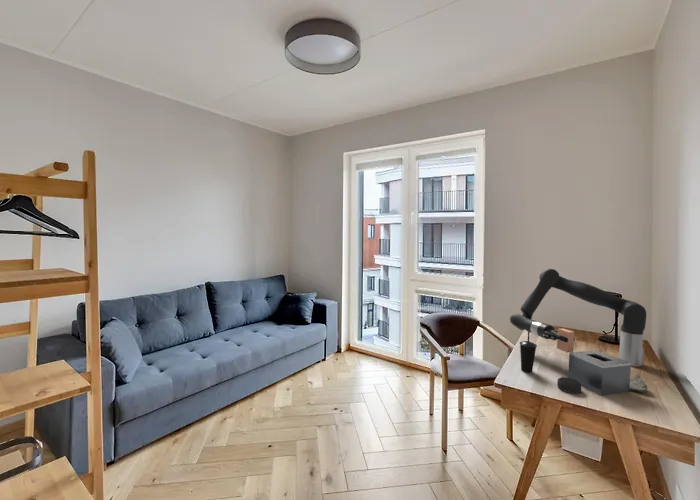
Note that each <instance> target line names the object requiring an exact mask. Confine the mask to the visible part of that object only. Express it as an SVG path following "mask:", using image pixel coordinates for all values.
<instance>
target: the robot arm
mask: <svg viewBox="0 0 700 500" xmlns="http://www.w3.org/2000/svg"><path fill="white" fill-rule="evenodd" d="M538 278H539V281H538V284H537V285H536V287H535V288H534V290H533V291H532V292H531V293H530V295H528V297H526V299H525V301H524V303H523V304H522V305H521V307H520V311H521V313H522V314H519V313H513V314H512V315H511V316H510V318H509V322H510V323H511V324H512V325H513V327H515V328H517V329H518V330H521V331H527V332H528V331H529V332H530V333H531V334H534V336H537V337H541V338H543V339H545V340H553V341H557V340H561V341H564V342H568V338H566V337H564V336H560V335H558V329H555V328H554V326H553V325H551V324H548V323H545V322H541V321H536V320H533V314H534V313H535V312H536V310H537V309H538V307H539V306H540V304H541V303H542V300H543V299H544V298H545V296H546V295H547V293H548V292H549V290H551V289H552V288H554V289H557V290H560V291H562V292H565V293H567V294H569V295H571V296H574V297H575V298H577V299H580V300H583V301H585V302H587V303H590V304H593V305H597V306H601V307H604V308H608V309H610V310H613V311H614V312H615V311H616V312H617V313H619V314H621V315H622V316H623V320H622V324H621V326H620V338H619V350H618V358H619V359H622V360H625V361H627V362H630V363H631V367H635V368H637V367H641V366H642V367H643V366H644V356H645V348H644V347H643V343H644V331H645V329H646V323H647V310H646V308H645V307H644V306H643V305H641V304H640V303H638V302H636V301H632V300H628V299H626V298H623V297H618V296H616V295H613V294H611V293H610V292H608V291H606V290H603V289H601V288H599V287H597V286H595V285H591V284H590V283H589V284H588V283H585V282H581V281H576V280H572V279H568V278H565V277H563V276H561V275H560V273H559V272H558V270H556V269H553V268H547V269H545V270H543V271H542V272H541V273H540V274H539V277H538ZM574 342H575V337H574Z"/></svg>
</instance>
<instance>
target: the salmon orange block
mask: <svg viewBox="0 0 700 500" xmlns="http://www.w3.org/2000/svg"><path fill="white" fill-rule="evenodd" d="M557 330H558V335H560V336H564V337H566V338H568V342H564V341H561V340H556V342H557V343H556V349H558V350H560V351H563V352H566V353H568V354H569V353H570V352H574V342H575V341H574V338H575V331H573V330H570V329H566V328H564V327H563V328H557Z"/></svg>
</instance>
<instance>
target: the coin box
mask: <svg viewBox="0 0 700 500" xmlns="http://www.w3.org/2000/svg"><path fill="white" fill-rule="evenodd" d="M568 354H569V355H568V370H567V371H568V372H567V373H568V374H567V378H571V379H574V380H577V381H578V382H580V383H581V387H583V388H584V389H587V390H589V391H591V392H593V393H595V394H597V395H599V396H606V395H617V394H622V393H623V394H624V393H630V390H629V385H630V379H631V370H632V369H631V368H632V366H631V363H630V362H627V361H625V360H622V359H619V357H616V356H613V355H610V354H608V353H605V352H602V351H599V350H597V349H593V350H583V351H580V350H579V351H573V352H568Z"/></svg>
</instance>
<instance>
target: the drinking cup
mask: <svg viewBox="0 0 700 500" xmlns="http://www.w3.org/2000/svg"><path fill="white" fill-rule="evenodd" d="M530 333H531V332H529V331H527V340H523V341H520V342H519V349H520V351H519V352H520V370H521V371H522V372H523V373H526V374H527V373H528V374H531V373H533V369H534V363H535V358H536V357H535V355H536V350H537V347H538V345H537V344H536V343H534V342H532V341H530Z"/></svg>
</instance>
